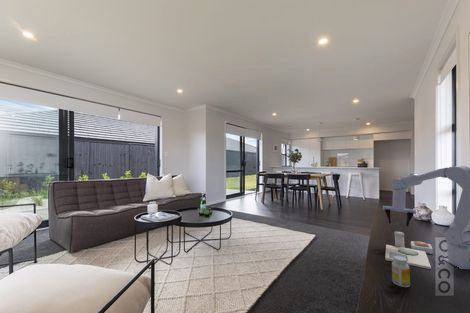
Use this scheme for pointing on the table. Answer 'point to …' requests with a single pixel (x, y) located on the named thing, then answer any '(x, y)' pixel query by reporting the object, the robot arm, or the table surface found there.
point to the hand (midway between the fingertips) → (398, 224)
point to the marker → (399, 239)
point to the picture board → (408, 256)
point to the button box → (426, 249)
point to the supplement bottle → (400, 272)
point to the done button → (421, 244)
